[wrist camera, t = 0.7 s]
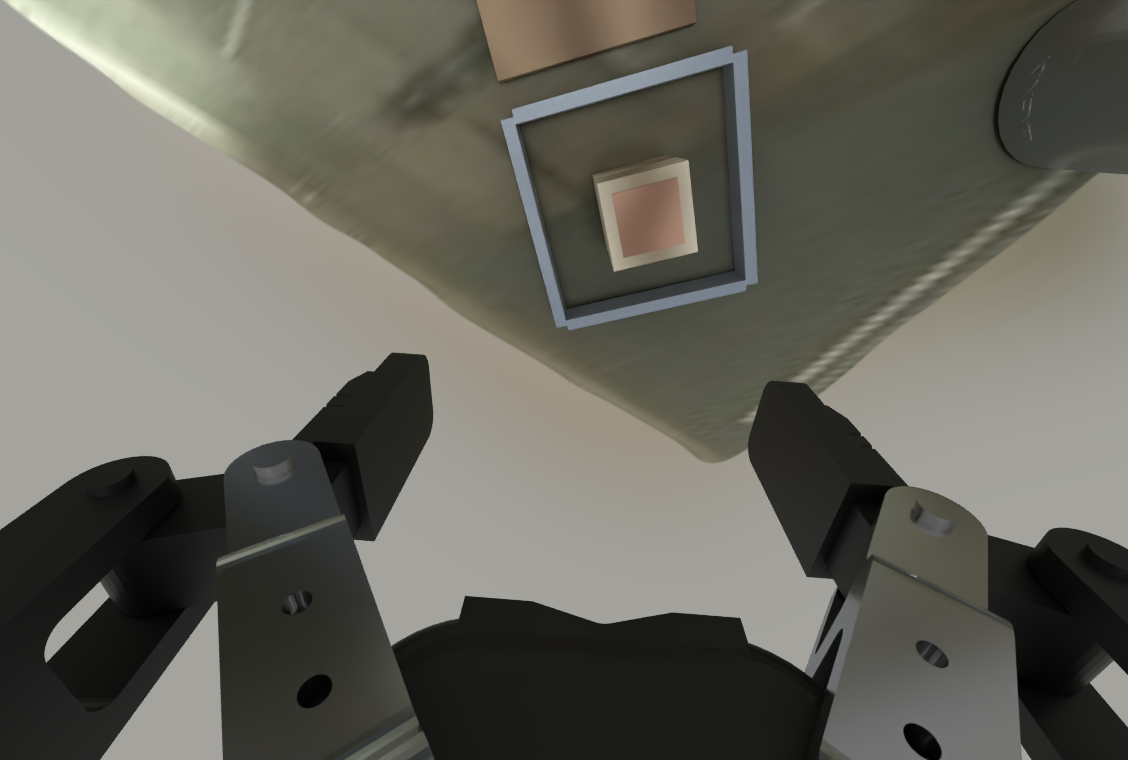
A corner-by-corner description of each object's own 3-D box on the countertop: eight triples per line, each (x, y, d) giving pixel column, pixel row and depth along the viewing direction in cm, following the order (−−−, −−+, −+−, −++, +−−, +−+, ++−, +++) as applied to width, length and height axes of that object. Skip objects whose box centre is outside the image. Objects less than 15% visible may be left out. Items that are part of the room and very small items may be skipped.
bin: (732, 48, 28) (746, 41, 26) (746, 278, 34) (757, 288, 32) (504, 114, 30) (498, 113, 27) (558, 320, 36) (558, 332, 34)
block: (664, 154, 31) (688, 160, 24) (674, 229, 33) (698, 252, 27) (591, 174, 31) (597, 184, 25) (606, 246, 34) (614, 272, 27)
